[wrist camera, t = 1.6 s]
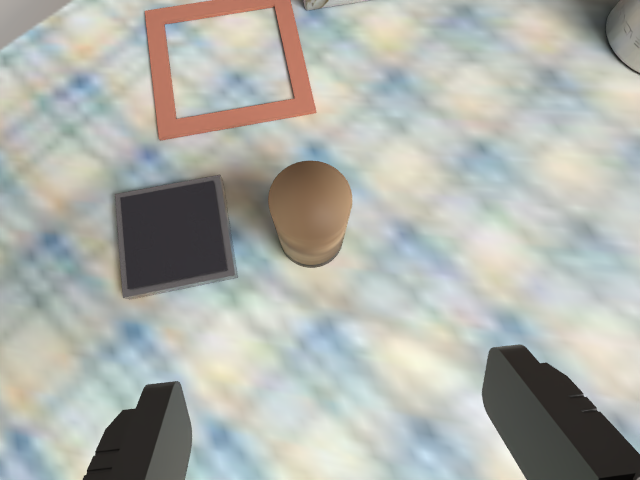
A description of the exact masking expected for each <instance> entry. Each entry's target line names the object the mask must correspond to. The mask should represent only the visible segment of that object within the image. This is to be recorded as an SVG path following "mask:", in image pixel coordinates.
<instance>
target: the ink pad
mask: <svg viewBox="0 0 640 480" xmlns="http://www.w3.org/2000/svg"><path fill="white" fill-rule="evenodd" d="M115 201H116V214H117V227H118V241H119V254H120V267H121V280H122V293H123V298H126V299H134V298H139V297H144V296H149V295H154V294H159V293H164V292H169V291H174V290H179V289H184V288H189V287H194V286H199V285H204V284H209V283H214V282H219V281H224V280H229V279H234V278H238V275H237V268H236V262H235V256H234V249H233V243H232V236H231V230H230V223H229V217H228V210H227V204H226V197H225V191H224V184H223V180H222V178H221V176H220V175H217V176H211V177H206V178H200V179H195V180H189V181H184V182H179V183H173V184H168V185H162V186H157V187H151V188H146V189H140V190H135V191H130V192H124V193H119V194H115Z"/></svg>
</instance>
